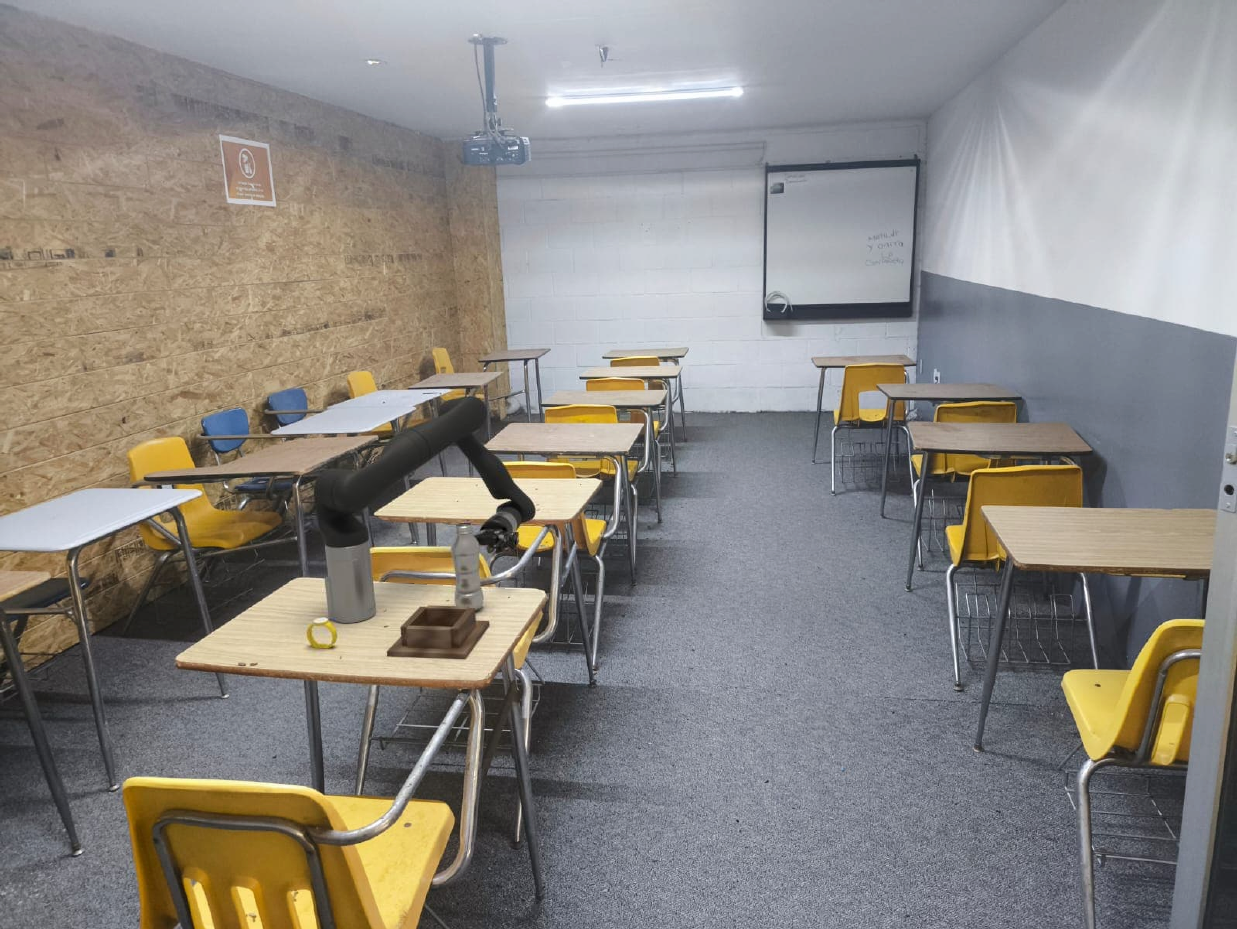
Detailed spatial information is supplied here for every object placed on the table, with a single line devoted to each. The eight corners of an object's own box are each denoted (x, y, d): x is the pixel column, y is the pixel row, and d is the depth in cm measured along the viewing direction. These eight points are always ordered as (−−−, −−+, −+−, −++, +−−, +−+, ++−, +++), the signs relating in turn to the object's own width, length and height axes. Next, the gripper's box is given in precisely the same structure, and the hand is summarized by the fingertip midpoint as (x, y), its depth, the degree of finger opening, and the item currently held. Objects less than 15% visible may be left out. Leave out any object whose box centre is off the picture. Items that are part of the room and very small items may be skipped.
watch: (339, 646, 161) (338, 619, 160) (332, 652, 159) (331, 624, 157) (312, 642, 162) (311, 615, 161) (305, 648, 160) (304, 621, 158)
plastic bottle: (487, 604, 180) (482, 520, 176) (479, 616, 174) (473, 528, 170) (460, 603, 181) (454, 520, 177) (451, 615, 175) (444, 528, 170)
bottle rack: (387, 656, 156) (384, 632, 154) (418, 623, 171) (416, 601, 170) (465, 659, 153) (463, 635, 152) (489, 625, 169) (488, 603, 168)
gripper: (471, 514, 200) (449, 533, 185) (525, 515, 199) (508, 534, 183) (472, 543, 202) (451, 564, 186) (527, 544, 200) (510, 565, 184)
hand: (479, 549), depth 185 cm, fingers open, 8 cm apart
